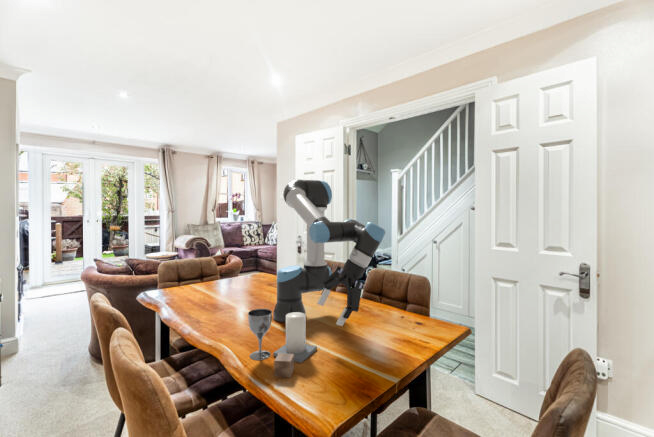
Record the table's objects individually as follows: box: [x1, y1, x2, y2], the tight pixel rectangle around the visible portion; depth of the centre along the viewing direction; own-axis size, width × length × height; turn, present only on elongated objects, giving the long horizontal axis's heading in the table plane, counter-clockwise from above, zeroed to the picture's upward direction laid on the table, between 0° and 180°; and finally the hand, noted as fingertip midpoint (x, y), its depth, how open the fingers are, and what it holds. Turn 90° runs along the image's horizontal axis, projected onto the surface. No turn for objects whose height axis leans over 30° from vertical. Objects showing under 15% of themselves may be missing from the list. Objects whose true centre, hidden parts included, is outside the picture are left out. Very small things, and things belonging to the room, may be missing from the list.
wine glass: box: [247, 308, 273, 361], centre depth 106 cm, size 8×8×15 cm
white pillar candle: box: [285, 312, 307, 354], centre depth 108 cm, size 7×7×12 cm
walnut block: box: [273, 353, 295, 379], centre depth 95 cm, size 5×5×5 cm
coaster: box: [273, 343, 318, 364], centre depth 108 cm, size 11×11×1 cm
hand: (329, 314), depth 112 cm, fingers open, 13 cm apart
